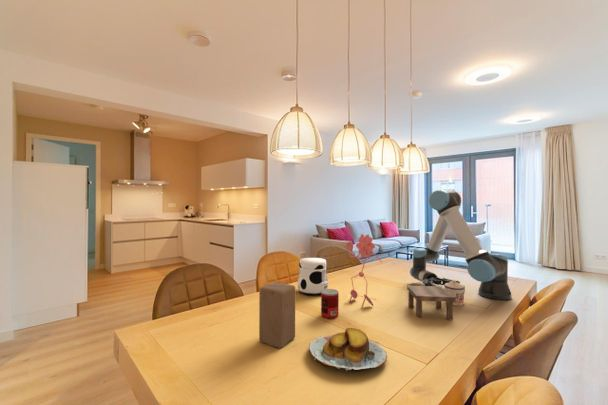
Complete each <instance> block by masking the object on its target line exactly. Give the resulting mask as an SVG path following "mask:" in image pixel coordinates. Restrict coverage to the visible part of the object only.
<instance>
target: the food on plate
mask: <svg viewBox="0 0 608 405" xmlns="http://www.w3.org/2000/svg"><path fill="white" fill-rule="evenodd" d="M308 350H309V352H310V354H311V356H312V357H314V359H313V361H316V360H317V361H319V362H321V363H322V365H325V366H331V367H335V368H337V370H338V369H339V370H340V369H341V368H342V369H345V371H348V370H349V371H351V370H352V369H353V370H355V371H356V370H358V371H359V370H362V369H363V370H365V369H370V368H371V369H373V368H375V369H376V368H377V367H381V366H383V364H384V365H385V364H386V363H387V362H388V359H387V358H388V355H387V351H386V350H385V348H383V347H382V346H381V345H380V344H378V343H377V342H374V341H373V340H369V338H368V335H367V334H366V333H365V332H364V331H362V330H361V329H358V328H355V327H346V328H345V330H344V331H343V332H337V333H335V334H329V335H324V336H320V337H319V336H318V337H317V338H315V339H314V340H312V341H311V342H310V343H309V346H308Z"/></svg>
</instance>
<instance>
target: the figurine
mask: <svg viewBox="0 0 608 405" xmlns="http://www.w3.org/2000/svg"><path fill="white" fill-rule="evenodd" d="M355 247H356V249H358V254H357V255H356V256H355V255H351V250H353V248H354V244H353V242H351V241H348V242H346V248H347V250H348V251H349V254H348V255H349V258H356V259H357V260H359V261H361V262H362V264H363V265H362V269H361V271H359V272H358V274H356V275H355V276H352V277H350V279H351V285H352V290H350V298H349V300H348V302H349V303H350V302H351V300H352V299H354V300H356V299H357V297H359V295H358V294H359V293H358V292H357V290H355V288H354V283H353V278H355V277H361V278H364V280H365V282H366V283H368V281H367V279H366V276H365V273H364V272H363V271H364V267H365V264H366V260H367V259H370V258H371V255H374V257H375V258H377V260H379V261H380V263H383V261H382V260H381V259H380V258H379V257H378V256H377V254H375V252H374V250H373V249H375V248H376V245H375V243H373V238H372V237H370V234H366V235H364V234H363V233H361V234H360V237H359V238H358V242H357V243H356V244H355ZM360 257H361V258H360ZM363 258H364V259H363ZM365 287H366V290H365V294H363V296H361V295H360V297H362V298H363V302H362V304H361V308H363V307H364V304H365V301H367V302H368V303H369V304H370V305H371V306H372V307H374V303H373V301H377V299H376V298H371V297H369V296H368V285H366V286H365ZM371 299H372V300H373V301H372V300H371Z"/></svg>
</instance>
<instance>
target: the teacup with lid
mask: <svg viewBox="0 0 608 405" xmlns="http://www.w3.org/2000/svg"><path fill="white" fill-rule="evenodd" d="M451 280H452V282H449V283H445V284H444V285H443V286H444V289H445V290H446V291H447V292H448V293H450V294H451V295H452V296H454V297H455V302H453V307H454V306H455V307H461V306H463V305H464V303H465V298H464V297H465V292H466V289H465V290H464V286H465V285H464V284H462V283H460V284H459V283H457V282H456V281H457V280H456V279H451ZM461 284H462V285H461ZM463 285H464V286H463ZM444 303H446V302H444Z"/></svg>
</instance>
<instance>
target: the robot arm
mask: <svg viewBox="0 0 608 405" xmlns="http://www.w3.org/2000/svg"><path fill="white" fill-rule="evenodd" d="M428 204H429V206H430V207H431V209H433V210H434V211H437V214H438V215H439V217H438V219H437V221H436V224H435V226H434V228H433V231H432V234H431V236H430V239H429V241H428V244H427V245H426V248H421V247H420V248H419V247H417V248H415V247H414V249H413V251H412V267H410V270H409V273H410V276H411V277H412V278H413V279H415V280H417V281H419V282H422V283H423V284H424V285H423V286H444V284H445V283H449V282H452V280H453V279H449V278H445V277H442V278H441V277H438V275H437V274H436V273H434V272H431V271H429V270H427V269H426V268H427V263H432V262H435V261H437V260H439V258H440V250H441V247H442V245H443V243H444V240H445V238H446V236H447V233H448V231H449V229H450V230H451V232H452V234H453V235H454V237H455V239H456V240H457V242H458V244H459V246H460V247H461V250H462V251H463V253H464V254H465V256H466V257H465V262H466V264H467V272H468V275H469V276H470V277H471V278H472V279H474V280H475V281H477V282H480V285H479V287H478V290H477V291H478V295H480V296H482V297H485V298H487V299H492V300H496V301H497V300H498V301H509V300H512V292H511V290H510V287H509V284H508V278H509V277H508V276H509V275H508V269H509V268H508V266H509V265H508V264H509V260H508V256H507V255H505V254H499V253H490V252H489V251H488V250H485V249H484V248H483V247H482V246H481V244H480V242H479V241H478V239H477V238H476V236H475V234H474V232H473V231H472V230H471V227H469V224H468V223H467V221H466V220H465V218H464V216H463V215H462V214H461V212H460V208H461V204H462V198H461V195H460V193H458V191H456V190H451V189H448V190H447V189H436V190H434V191H432V193H431V194H430V196H429V198H428ZM456 282H457V283H459V284H461V285H463V286H464V290H465V291H466V285H464V284H462V283H461V282H460V281H459V280H456Z"/></svg>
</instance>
